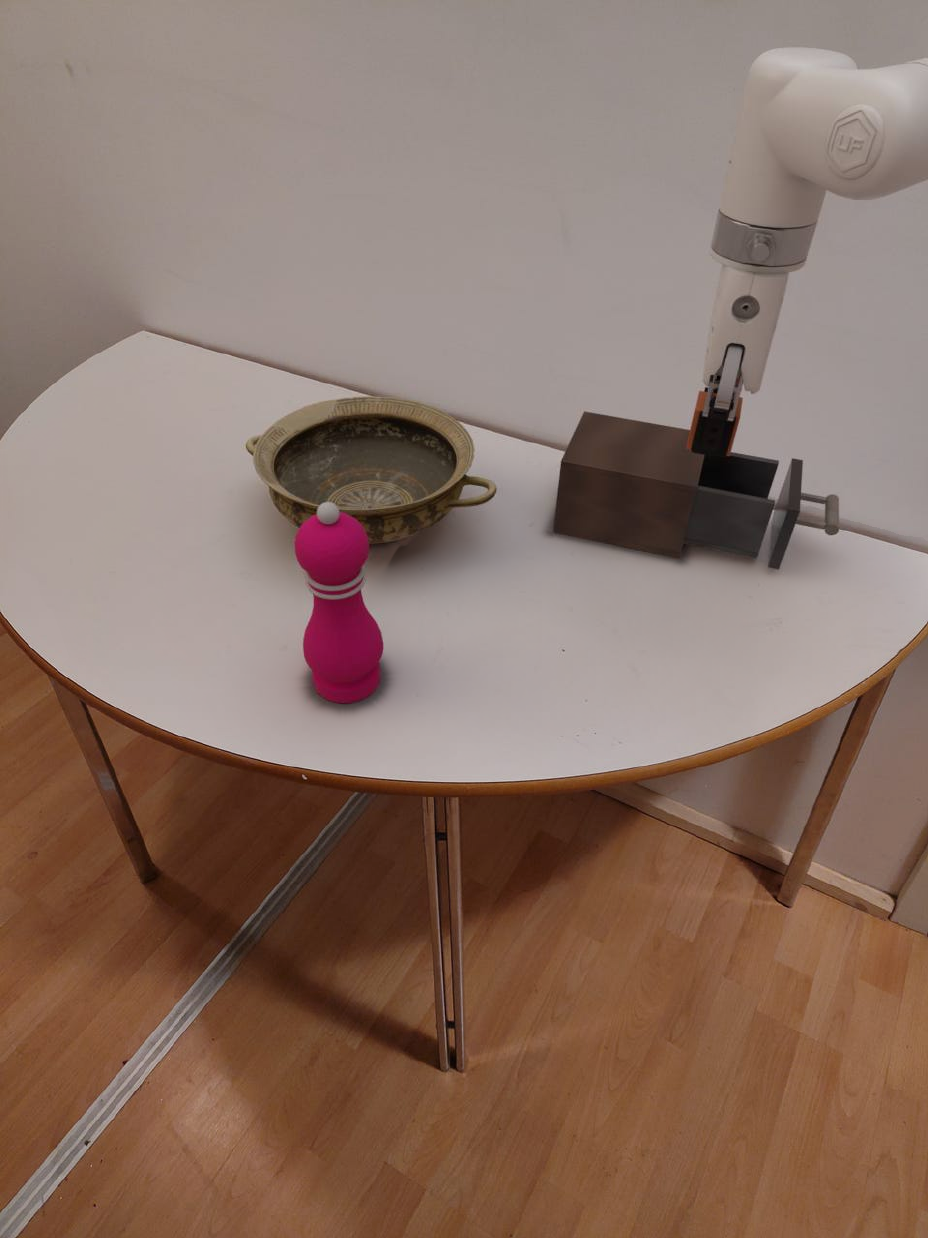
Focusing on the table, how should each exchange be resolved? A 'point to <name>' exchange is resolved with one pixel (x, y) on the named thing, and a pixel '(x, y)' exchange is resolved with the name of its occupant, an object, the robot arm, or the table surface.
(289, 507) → the ceramic bowl
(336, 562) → the pepper mill
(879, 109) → the robot arm
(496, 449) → the table surface
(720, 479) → the drawer
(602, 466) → the cabinet
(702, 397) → the block
